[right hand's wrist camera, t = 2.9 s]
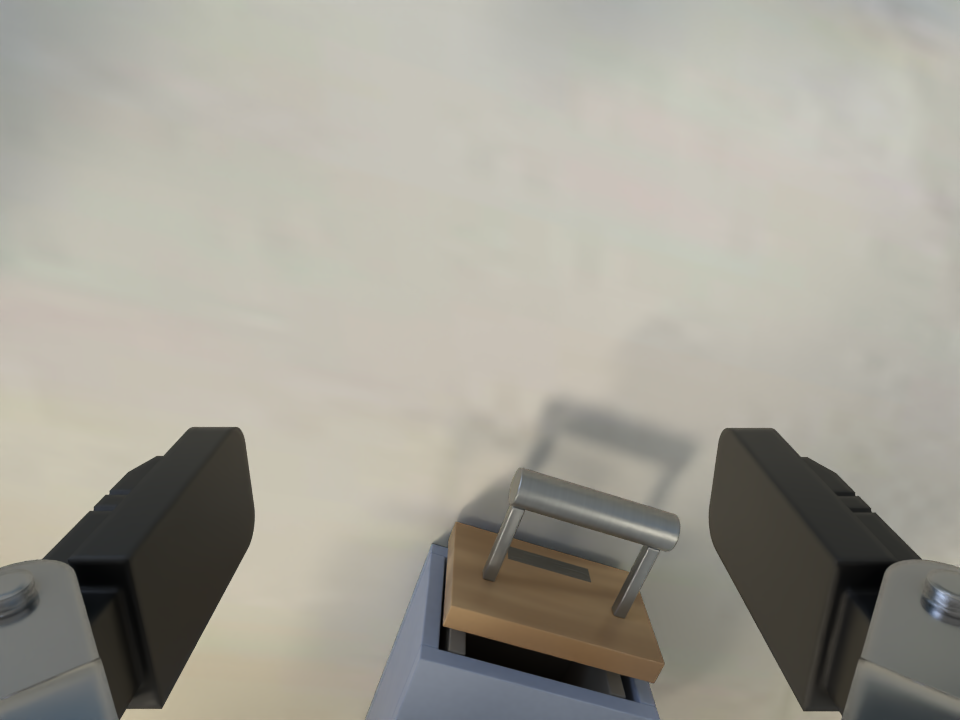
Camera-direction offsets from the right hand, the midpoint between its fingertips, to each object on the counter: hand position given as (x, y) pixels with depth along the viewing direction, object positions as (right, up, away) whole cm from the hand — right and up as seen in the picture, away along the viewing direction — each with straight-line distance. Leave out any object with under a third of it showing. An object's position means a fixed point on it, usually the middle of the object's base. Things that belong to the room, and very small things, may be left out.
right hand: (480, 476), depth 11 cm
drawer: (+2, -11, +24) cm, 27 cm away
